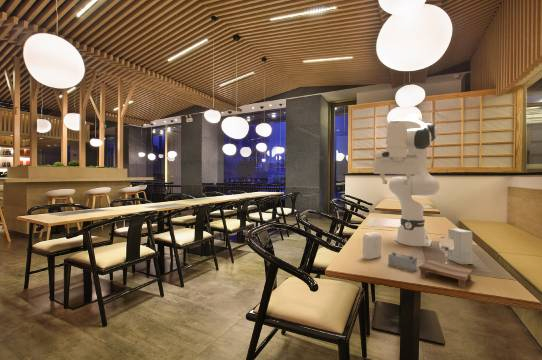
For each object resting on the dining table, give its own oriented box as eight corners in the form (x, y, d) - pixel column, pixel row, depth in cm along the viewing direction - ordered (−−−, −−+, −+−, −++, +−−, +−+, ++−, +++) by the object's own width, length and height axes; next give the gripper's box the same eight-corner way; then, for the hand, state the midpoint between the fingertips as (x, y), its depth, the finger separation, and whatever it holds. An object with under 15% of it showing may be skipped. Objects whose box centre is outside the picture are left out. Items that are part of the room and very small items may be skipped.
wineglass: (435, 263, 120) (436, 237, 120) (444, 262, 123) (444, 236, 122) (448, 267, 115) (449, 240, 115) (457, 266, 117) (457, 239, 117)
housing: (392, 263, 120) (392, 250, 120) (416, 269, 113) (416, 256, 113) (388, 265, 117) (388, 252, 117) (412, 272, 110) (413, 258, 110)
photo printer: (374, 254, 133) (375, 229, 133) (382, 257, 129) (382, 231, 129) (361, 258, 127) (361, 232, 127) (368, 260, 124) (369, 233, 123)
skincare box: (473, 264, 120) (474, 231, 119) (460, 264, 119) (461, 231, 119) (459, 258, 128) (460, 227, 128) (446, 258, 128) (447, 227, 127)
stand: (428, 269, 113) (428, 259, 113) (472, 279, 102) (472, 269, 102) (418, 276, 105) (419, 266, 105) (465, 288, 94) (465, 277, 94)
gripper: (416, 155, 127) (415, 184, 127) (371, 154, 129) (371, 183, 129) (422, 154, 121) (421, 185, 121) (376, 153, 122) (375, 183, 122)
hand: (395, 184), depth 125 cm, fingers open, 8 cm apart
